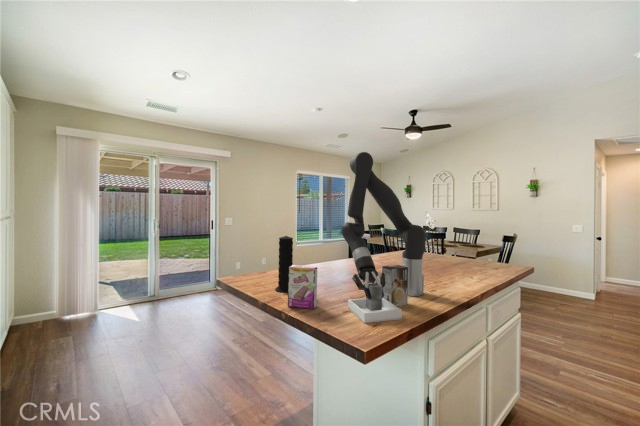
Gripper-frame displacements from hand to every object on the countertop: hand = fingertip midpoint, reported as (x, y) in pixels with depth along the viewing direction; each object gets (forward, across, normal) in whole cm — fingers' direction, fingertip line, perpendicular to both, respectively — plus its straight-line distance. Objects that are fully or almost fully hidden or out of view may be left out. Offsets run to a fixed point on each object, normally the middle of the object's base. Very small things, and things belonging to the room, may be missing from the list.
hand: (376, 298), depth 106 cm
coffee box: (-2, +14, +12) cm, 18 cm away
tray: (+3, 0, +6) cm, 7 cm away
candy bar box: (-6, -25, +16) cm, 30 cm away
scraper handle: (+2, 0, +5) cm, 5 cm away
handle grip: (-24, -28, +34) cm, 50 cm away
